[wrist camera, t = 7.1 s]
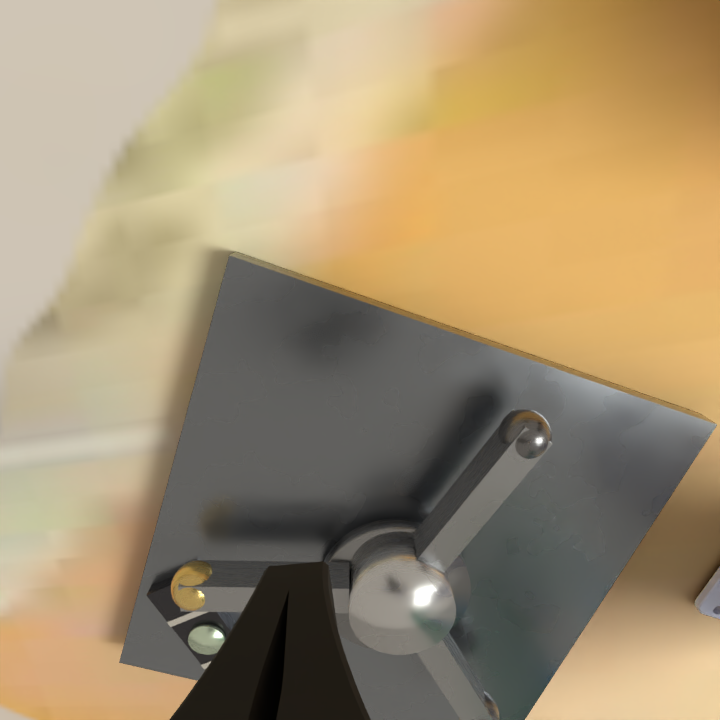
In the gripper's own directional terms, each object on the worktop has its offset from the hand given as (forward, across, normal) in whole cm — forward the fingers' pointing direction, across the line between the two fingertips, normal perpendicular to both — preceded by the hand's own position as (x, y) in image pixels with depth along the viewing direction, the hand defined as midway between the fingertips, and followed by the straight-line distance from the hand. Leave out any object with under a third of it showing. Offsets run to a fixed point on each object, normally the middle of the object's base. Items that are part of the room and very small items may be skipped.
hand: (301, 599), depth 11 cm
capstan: (+9, 0, +6) cm, 11 cm away
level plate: (+10, -2, +7) cm, 12 cm away
